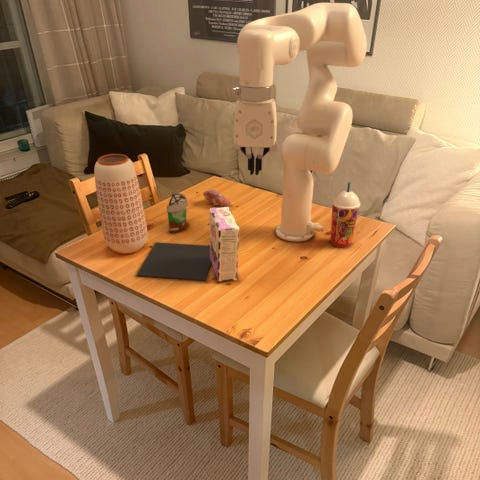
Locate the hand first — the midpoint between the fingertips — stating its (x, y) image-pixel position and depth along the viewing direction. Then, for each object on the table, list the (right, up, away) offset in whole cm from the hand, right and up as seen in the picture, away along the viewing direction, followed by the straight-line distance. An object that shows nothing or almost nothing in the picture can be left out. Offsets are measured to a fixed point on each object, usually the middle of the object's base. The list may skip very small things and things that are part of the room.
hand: (254, 172), depth 115 cm
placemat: (-22, -19, +23) cm, 37 cm away
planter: (-39, -15, +29) cm, 51 cm away
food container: (-24, -5, +41) cm, 48 cm away
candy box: (-9, -22, +19) cm, 30 cm away
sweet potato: (-13, +6, +56) cm, 58 cm away
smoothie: (+29, -13, +32) cm, 44 cm away
